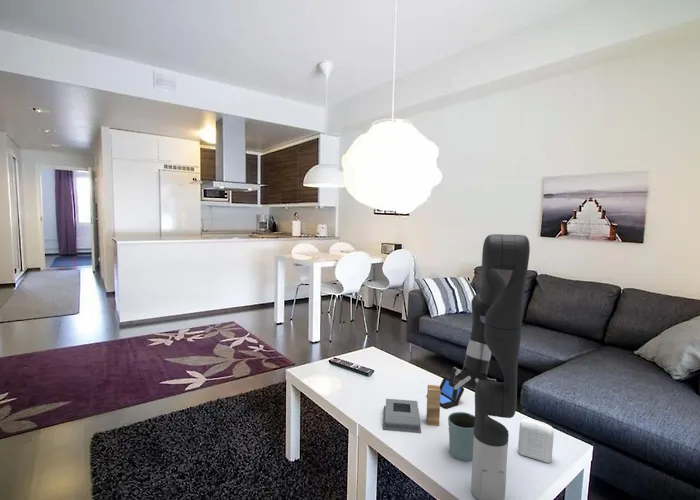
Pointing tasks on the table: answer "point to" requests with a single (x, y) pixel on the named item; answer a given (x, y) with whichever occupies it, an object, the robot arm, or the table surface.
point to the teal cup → (461, 435)
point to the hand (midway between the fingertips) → (468, 405)
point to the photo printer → (535, 440)
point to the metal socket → (401, 416)
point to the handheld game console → (448, 394)
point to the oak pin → (433, 405)
